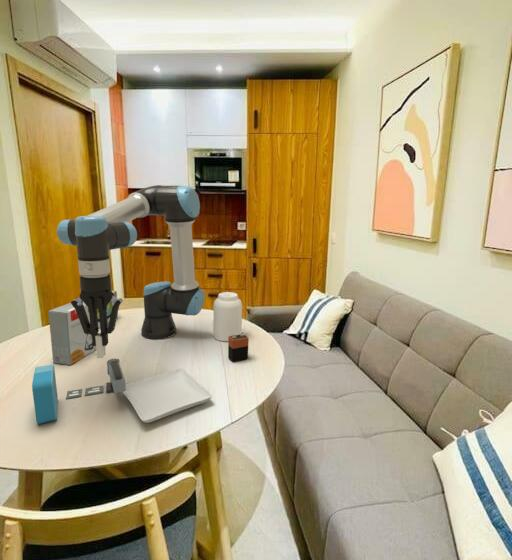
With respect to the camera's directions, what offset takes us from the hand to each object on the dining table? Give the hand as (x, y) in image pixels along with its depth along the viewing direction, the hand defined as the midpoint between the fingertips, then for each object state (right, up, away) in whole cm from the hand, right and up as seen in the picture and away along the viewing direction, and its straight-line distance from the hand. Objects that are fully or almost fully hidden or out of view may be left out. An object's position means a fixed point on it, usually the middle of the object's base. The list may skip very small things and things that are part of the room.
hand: (101, 355), depth 94 cm
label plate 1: (-12, -14, +7) cm, 19 cm away
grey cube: (-1, -13, +12) cm, 18 cm away
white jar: (+31, -4, +55) cm, 63 cm away
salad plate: (+16, -15, +7) cm, 23 cm away
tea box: (-31, 0, +66) cm, 73 cm away
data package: (-14, -16, -1) cm, 21 cm away
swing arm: (+2, -9, +6) cm, 11 cm away
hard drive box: (-25, -7, +33) cm, 42 cm away
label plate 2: (-7, -13, +10) cm, 18 cm away
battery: (+37, -9, +34) cm, 51 cm away
